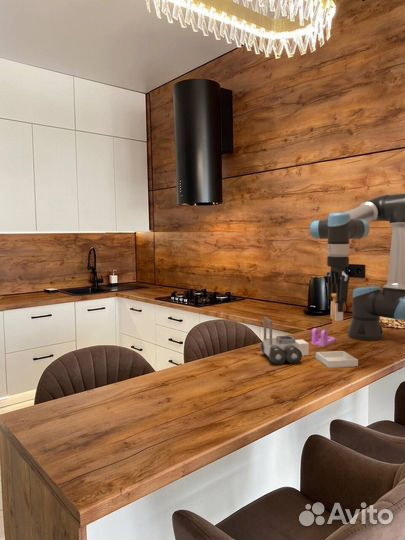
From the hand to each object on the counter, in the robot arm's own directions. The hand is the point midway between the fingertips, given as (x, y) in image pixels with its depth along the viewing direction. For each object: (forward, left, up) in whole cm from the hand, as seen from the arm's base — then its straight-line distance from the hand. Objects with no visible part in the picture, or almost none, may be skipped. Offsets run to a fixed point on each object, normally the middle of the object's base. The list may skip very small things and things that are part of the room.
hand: (336, 319), depth 152 cm
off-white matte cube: (+10, -13, -17) cm, 23 cm away
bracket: (-8, -27, -17) cm, 33 cm away
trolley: (+19, -8, -16) cm, 26 cm away
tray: (0, 0, -16) cm, 16 cm away
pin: (0, 0, -5) cm, 5 cm away
